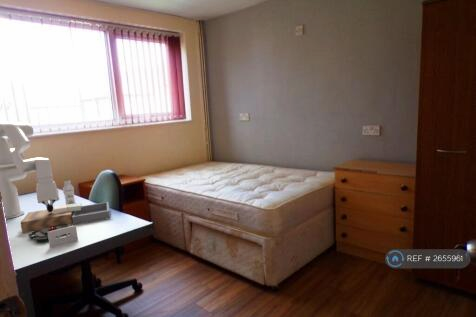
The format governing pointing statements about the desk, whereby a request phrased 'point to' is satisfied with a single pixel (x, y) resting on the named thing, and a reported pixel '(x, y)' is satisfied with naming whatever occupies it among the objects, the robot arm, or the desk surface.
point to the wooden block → (45, 220)
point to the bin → (91, 213)
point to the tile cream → (60, 209)
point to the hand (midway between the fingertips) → (50, 211)
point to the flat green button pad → (43, 235)
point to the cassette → (62, 240)
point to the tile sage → (74, 207)
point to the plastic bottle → (68, 192)
